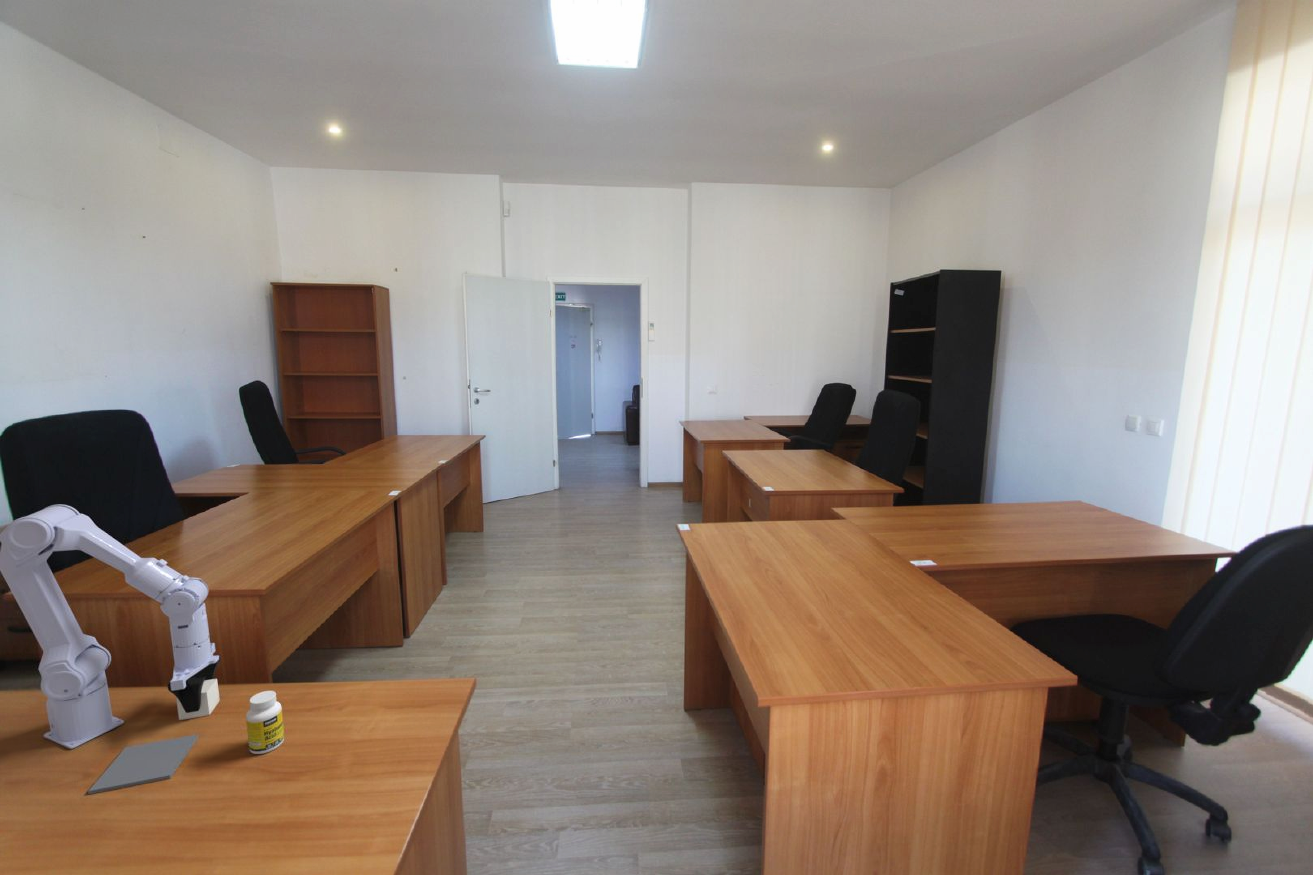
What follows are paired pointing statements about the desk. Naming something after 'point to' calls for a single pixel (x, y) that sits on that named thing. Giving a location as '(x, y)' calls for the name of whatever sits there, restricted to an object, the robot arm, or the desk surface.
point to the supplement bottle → (264, 723)
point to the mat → (144, 764)
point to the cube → (203, 701)
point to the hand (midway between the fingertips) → (199, 702)
